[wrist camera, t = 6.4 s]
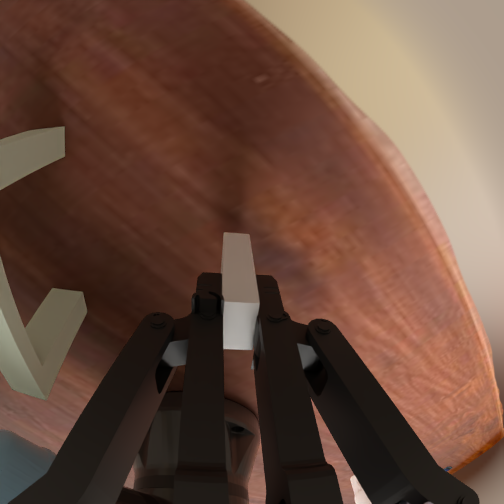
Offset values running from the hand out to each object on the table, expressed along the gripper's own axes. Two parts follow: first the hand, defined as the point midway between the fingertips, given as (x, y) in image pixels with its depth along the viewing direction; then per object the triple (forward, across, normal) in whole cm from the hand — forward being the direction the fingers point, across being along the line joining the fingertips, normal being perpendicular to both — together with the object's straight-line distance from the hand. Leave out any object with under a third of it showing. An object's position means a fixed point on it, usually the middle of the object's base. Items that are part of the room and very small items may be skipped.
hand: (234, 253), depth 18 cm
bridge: (+2, +13, 0) cm, 13 cm away
